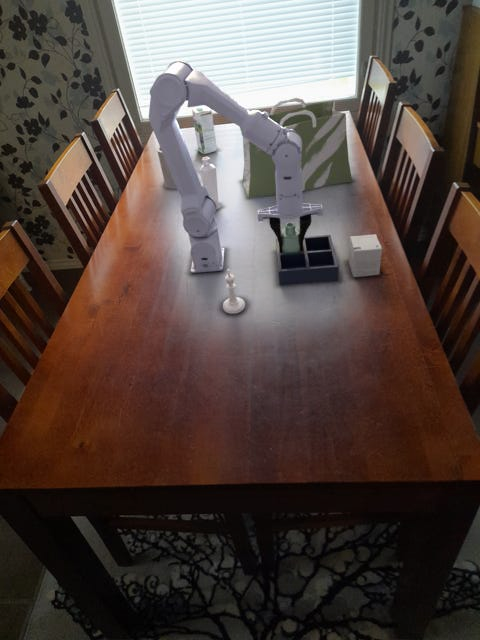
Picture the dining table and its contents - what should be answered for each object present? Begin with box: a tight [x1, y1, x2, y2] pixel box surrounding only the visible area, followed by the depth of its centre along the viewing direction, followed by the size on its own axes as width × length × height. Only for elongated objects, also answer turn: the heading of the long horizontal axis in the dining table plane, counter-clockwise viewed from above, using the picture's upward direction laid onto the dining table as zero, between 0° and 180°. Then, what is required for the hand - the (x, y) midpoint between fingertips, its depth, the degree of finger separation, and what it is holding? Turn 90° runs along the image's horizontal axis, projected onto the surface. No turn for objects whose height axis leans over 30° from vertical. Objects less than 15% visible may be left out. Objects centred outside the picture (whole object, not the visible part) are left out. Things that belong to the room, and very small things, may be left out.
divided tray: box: [275, 234, 339, 286], centre depth 107 cm, size 13×13×4 cm
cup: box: [156, 145, 178, 190], centre depth 146 cm, size 9×9×12 cm
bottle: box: [281, 221, 300, 253], centre depth 107 cm, size 4×4×7 cm
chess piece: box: [222, 268, 246, 315], centre depth 97 cm, size 5×5×10 cm
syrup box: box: [191, 106, 218, 155], centre depth 163 cm, size 6×6×14 cm
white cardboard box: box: [348, 233, 383, 278], centre depth 103 cm, size 6×6×7 cm
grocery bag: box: [242, 97, 353, 199], centre depth 134 cm, size 32×14×23 cm, turn 98°
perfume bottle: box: [199, 156, 221, 210], centre depth 130 cm, size 5×4×15 cm
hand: (291, 243), depth 108 cm, fingers closed on bottle, 4 cm apart
